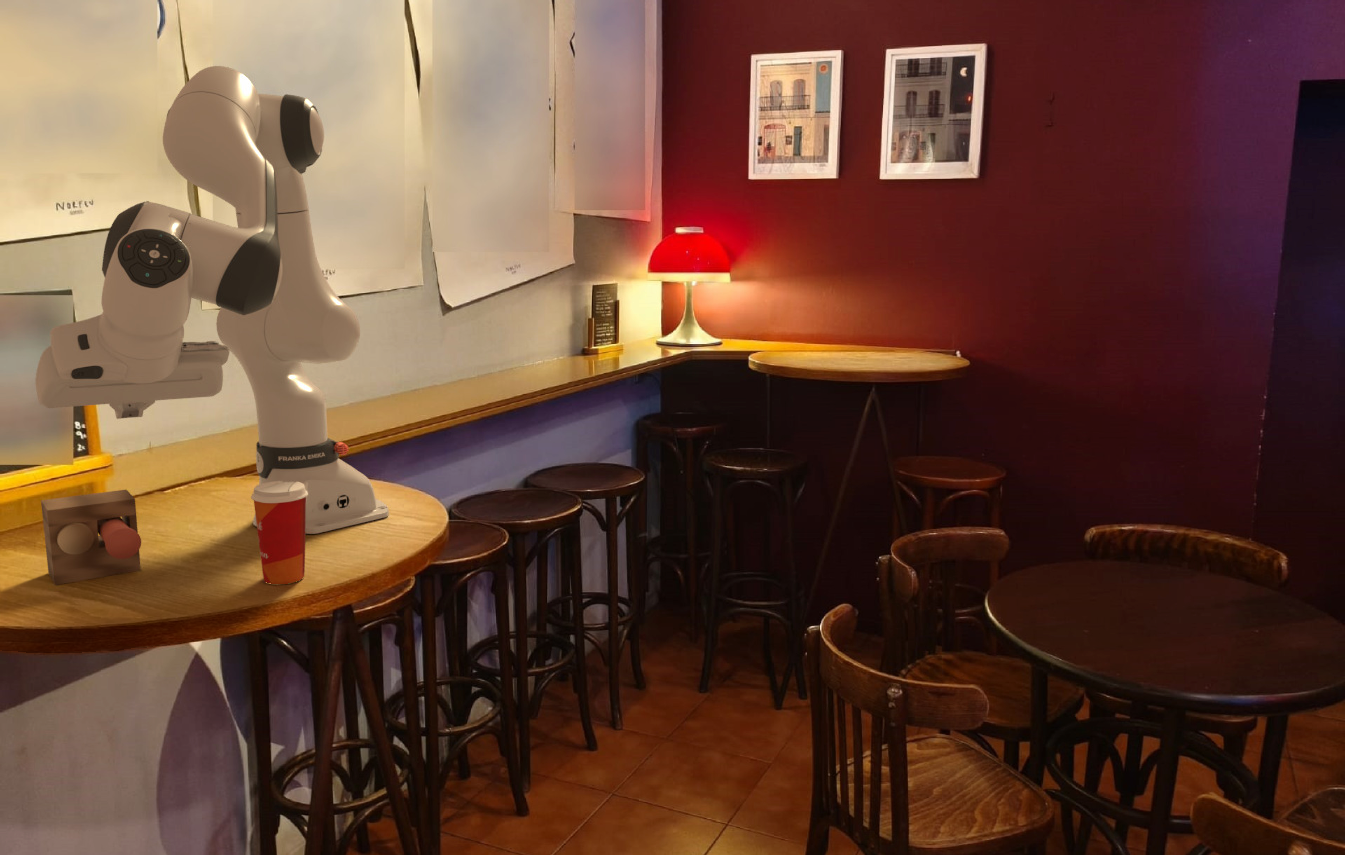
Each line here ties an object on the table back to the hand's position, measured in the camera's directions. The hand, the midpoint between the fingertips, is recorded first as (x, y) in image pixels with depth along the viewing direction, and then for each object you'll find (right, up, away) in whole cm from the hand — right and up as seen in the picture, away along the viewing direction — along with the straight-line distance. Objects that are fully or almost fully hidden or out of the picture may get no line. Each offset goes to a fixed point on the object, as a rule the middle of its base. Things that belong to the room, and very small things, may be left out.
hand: (128, 413), depth 127 cm
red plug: (-11, -19, +17) cm, 28 cm away
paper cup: (+12, -24, +19) cm, 33 cm away
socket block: (-16, -23, +20) cm, 34 cm away
